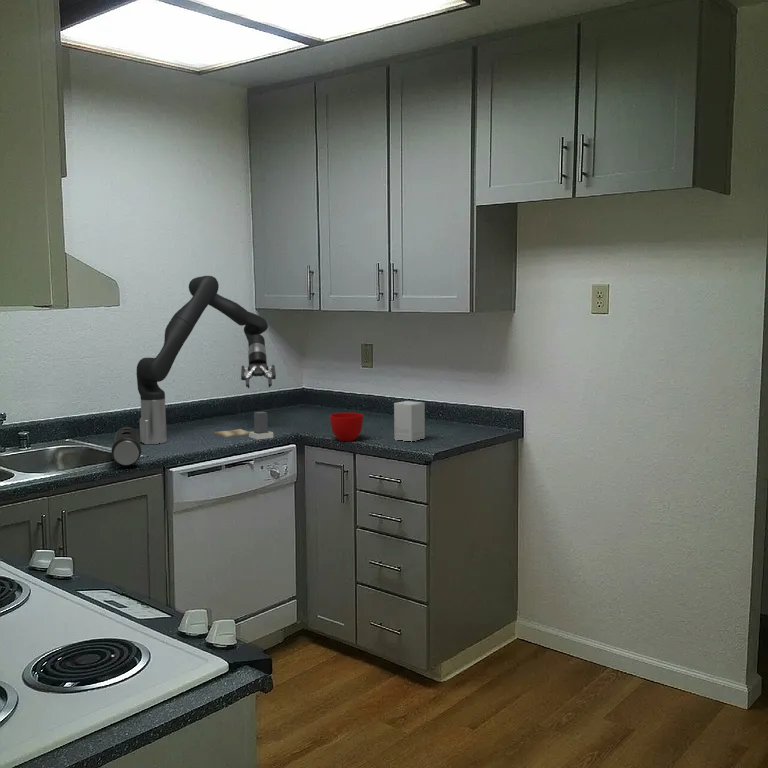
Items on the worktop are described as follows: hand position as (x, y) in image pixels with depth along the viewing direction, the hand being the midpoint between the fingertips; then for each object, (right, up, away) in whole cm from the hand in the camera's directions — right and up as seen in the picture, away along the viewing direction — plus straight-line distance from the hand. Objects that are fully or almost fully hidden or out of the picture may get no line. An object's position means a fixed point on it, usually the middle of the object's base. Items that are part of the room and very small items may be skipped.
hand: (259, 386), depth 337 cm
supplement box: (+62, -21, -14) cm, 67 cm away
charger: (+2, -20, -9) cm, 22 cm away
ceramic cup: (+38, -21, -11) cm, 45 cm away
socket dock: (+2, -21, -9) cm, 23 cm away
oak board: (-11, -20, -1) cm, 23 cm away
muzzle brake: (-38, -26, -51) cm, 69 cm away
